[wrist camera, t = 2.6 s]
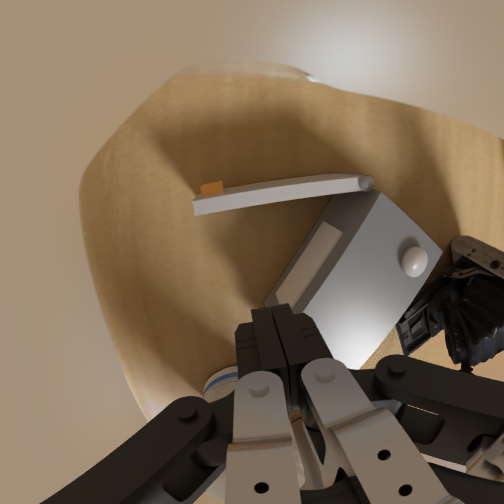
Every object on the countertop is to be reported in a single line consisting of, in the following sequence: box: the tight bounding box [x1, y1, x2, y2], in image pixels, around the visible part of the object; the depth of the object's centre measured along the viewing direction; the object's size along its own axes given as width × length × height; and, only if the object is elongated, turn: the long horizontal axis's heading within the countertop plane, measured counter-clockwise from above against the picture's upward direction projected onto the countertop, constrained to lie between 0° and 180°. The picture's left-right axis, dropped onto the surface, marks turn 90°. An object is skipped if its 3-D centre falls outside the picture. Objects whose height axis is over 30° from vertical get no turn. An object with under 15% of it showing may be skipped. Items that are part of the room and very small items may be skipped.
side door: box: [192, 172, 374, 216], centre depth 21 cm, size 13×2×6 cm, turn 99°
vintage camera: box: [395, 236, 504, 375], centre depth 21 cm, size 10×16×20 cm, turn 121°
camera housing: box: [263, 190, 443, 370], centre depth 23 cm, size 16×9×8 cm, turn 149°
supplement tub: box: [203, 366, 305, 501], centre depth 24 cm, size 10×10×15 cm
